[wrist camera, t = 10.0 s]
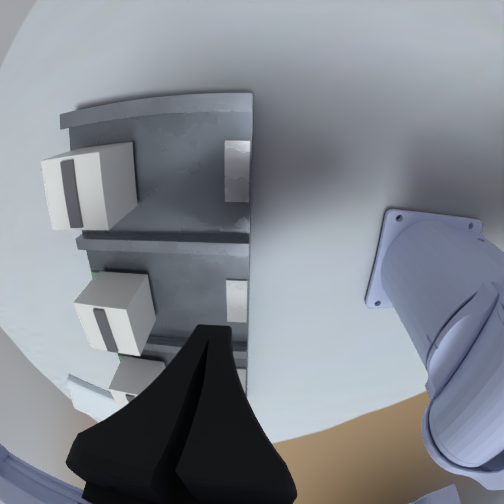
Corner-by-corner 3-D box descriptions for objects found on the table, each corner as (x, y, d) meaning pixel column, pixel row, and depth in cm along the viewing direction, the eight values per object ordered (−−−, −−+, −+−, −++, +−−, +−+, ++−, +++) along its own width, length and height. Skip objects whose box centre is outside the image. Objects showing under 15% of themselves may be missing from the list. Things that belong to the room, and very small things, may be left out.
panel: (253, 95, 15) (252, 93, 13) (246, 397, 28) (245, 414, 26) (78, 112, 16) (59, 114, 14) (137, 384, 28) (131, 400, 26)
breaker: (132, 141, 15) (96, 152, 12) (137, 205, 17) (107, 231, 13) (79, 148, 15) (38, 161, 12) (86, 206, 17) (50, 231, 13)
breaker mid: (147, 274, 19) (125, 311, 16) (156, 319, 21) (139, 358, 17) (99, 271, 19) (72, 304, 16) (111, 314, 21) (90, 349, 17)
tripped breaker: (163, 362, 23) (151, 399, 20) (171, 388, 25) (161, 423, 21) (123, 355, 23) (107, 390, 20) (134, 382, 25) (121, 415, 22)
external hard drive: (71, 371, 29) (161, 407, 30) (78, 401, 33) (156, 432, 34) (66, 380, 28) (158, 417, 29) (74, 409, 31) (154, 441, 33)
